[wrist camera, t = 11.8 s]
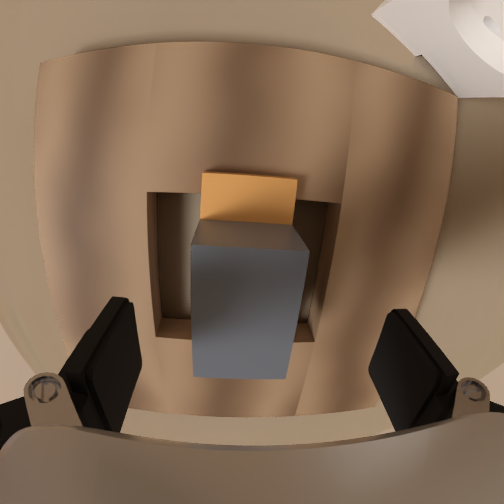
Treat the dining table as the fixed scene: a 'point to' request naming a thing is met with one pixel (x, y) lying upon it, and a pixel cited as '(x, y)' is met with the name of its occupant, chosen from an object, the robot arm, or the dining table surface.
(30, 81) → the dining table surface
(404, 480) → the robot arm
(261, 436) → the dining table surface
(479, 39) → the bracket
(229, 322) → the block
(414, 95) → the plate
